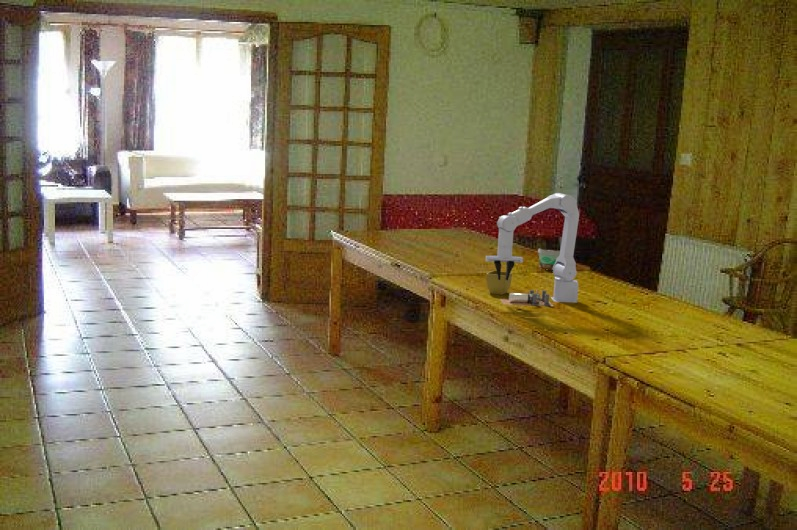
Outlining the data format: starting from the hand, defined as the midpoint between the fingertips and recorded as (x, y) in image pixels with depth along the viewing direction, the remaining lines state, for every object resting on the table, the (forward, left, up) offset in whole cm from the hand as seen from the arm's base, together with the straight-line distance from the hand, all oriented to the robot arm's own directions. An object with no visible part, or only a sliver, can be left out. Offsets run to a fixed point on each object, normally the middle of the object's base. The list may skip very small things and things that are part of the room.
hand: (502, 279), depth 328 cm
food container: (-34, -74, -10) cm, 82 cm away
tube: (-9, 0, -9) cm, 13 cm away
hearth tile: (-10, 0, -9) cm, 14 cm away
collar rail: (-15, 0, -9) cm, 18 cm away
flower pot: (-1, -16, -10) cm, 19 cm away
